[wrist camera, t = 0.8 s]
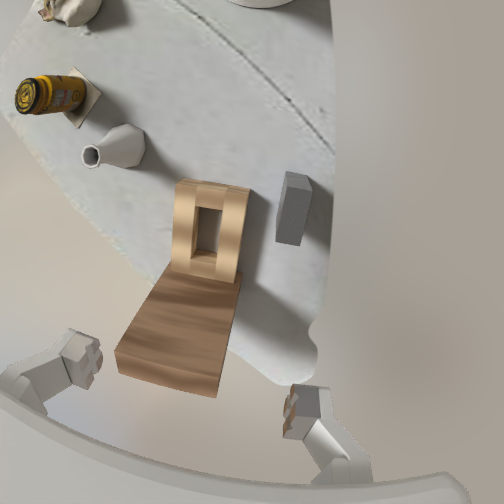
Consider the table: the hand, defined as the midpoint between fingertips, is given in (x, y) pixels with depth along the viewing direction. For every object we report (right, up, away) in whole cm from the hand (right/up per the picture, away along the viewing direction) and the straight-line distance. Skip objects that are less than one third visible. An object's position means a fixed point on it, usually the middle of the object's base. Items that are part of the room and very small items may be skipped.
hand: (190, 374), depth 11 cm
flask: (-17, +21, +30) cm, 41 cm away
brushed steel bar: (+8, +13, +32) cm, 35 cm away
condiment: (-26, +30, +27) cm, 48 cm away
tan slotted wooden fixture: (-4, +7, +36) cm, 37 cm away
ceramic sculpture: (-27, +47, +19) cm, 57 cm away
